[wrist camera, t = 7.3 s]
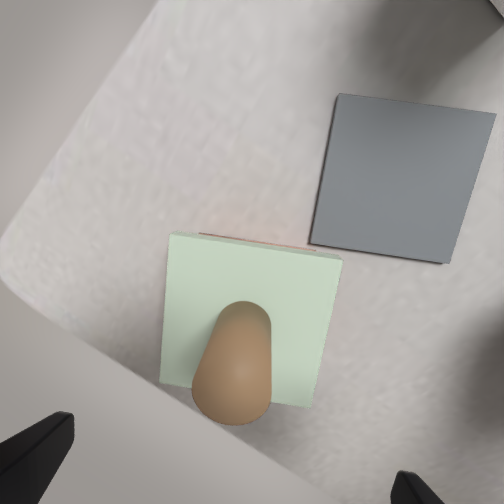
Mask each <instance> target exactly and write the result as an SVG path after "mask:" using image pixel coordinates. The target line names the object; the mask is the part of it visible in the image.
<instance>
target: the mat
mask: <svg viewBox="0 0 504 504" xmlns="http://www.w3.org/2000/svg"><path fill="white" fill-rule="evenodd" d="M496 115H497V114H495V113H488V112H480V111H472V110H465V109H457V108H449V107H442V106H434V105H426V104H419V103H411V102H403V101H396V100H388V99H380V98H372V97H365V96H357V95H349V94H342V93H339V95H338V96H337V101H336V106H335V112H334V117H333V122H332V127H331V132H330V138H329V143H328V148H327V153H326V159H325V164H324V169H323V174H322V180H321V185H320V190H319V195H318V200H317V206H316V211H315V216H314V221H313V227H312V232H311V237H310V243H312V244H319V245H326V246H333V247H339V248H346V249H353V250H359V251H366V252H373V253H380V254H386V255H393V256H400V257H406V258H413V259H420V260H426V261H433V262H440V263H447V264H449V263H450V260H451V257H452V254H453V250H454V247H455V244H456V241H457V238H458V235H459V231H460V228H461V225H462V222H463V219H464V216H465V212H466V209H467V206H468V203H469V200H470V197H471V194H472V190H473V187H474V184H475V181H476V178H477V175H478V171H479V168H480V165H481V162H482V159H483V156H484V152H485V149H486V146H487V143H488V140H489V137H490V133H491V130H492V127H493V124H494V121H495V118H496Z"/></svg>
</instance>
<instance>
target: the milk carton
mask: <svg viewBox="0 0 504 504" xmlns="http://www.w3.org/2000/svg"><path fill="white" fill-rule="evenodd" d="M490 1H491V3H492V4H493V5H494V6H495V8H496V9H497V10H498V11H499V13H500V14H501V15H502V16H503V18H504V0H490Z"/></svg>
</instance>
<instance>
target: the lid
mask: <svg viewBox="0 0 504 504" xmlns="http://www.w3.org/2000/svg"><path fill="white" fill-rule="evenodd" d="M342 264H343V260H342V259H341V258H340V257H339V256H338V255H335V254H328V253H322V252H315V251H308V250H302V249H295V248H288V247H282V246H275V245H268V244H262V243H255V242H248V241H242V240H235V239H228V238H222V237H215V236H208V235H202V234H195V233H188V232H182V231H176V232H173V233H171V234H170V235H169V249H168V263H167V277H166V291H165V305H164V319H163V333H162V348H161V362H160V376H159V383H162V384H168V385H174V386H180V387H186V388H192V396H193V399H194V401H195V403H196V405H197V407H198V408H199V409H200V411H201V412H202V413H203V414H204V415H206V416H207V417H208V418H210V419H212V420H214V421H216V422H218V423H221V424H225V425H244V424H248V423H250V422H253V421H255V420H256V419H258V418H259V417H260V416H262V415H263V414H264V412H265V411H266V410H267V408H268V406H269V404H270V402H274V403H280V404H286V405H292V406H298V407H304V408H311V403H312V399H313V394H314V390H315V385H316V381H317V376H318V372H319V367H320V363H321V358H322V354H323V349H324V345H325V341H326V336H327V332H328V327H329V323H330V318H331V314H332V309H333V305H334V300H335V296H336V291H337V287H338V282H339V278H340V273H341V269H342Z"/></svg>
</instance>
